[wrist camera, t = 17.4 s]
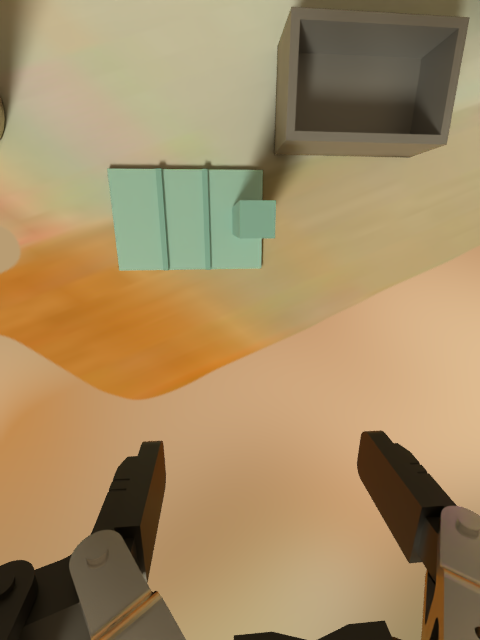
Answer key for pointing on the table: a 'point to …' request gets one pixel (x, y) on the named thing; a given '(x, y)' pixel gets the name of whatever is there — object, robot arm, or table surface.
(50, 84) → the table surface
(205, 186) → the lid
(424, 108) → the tub
